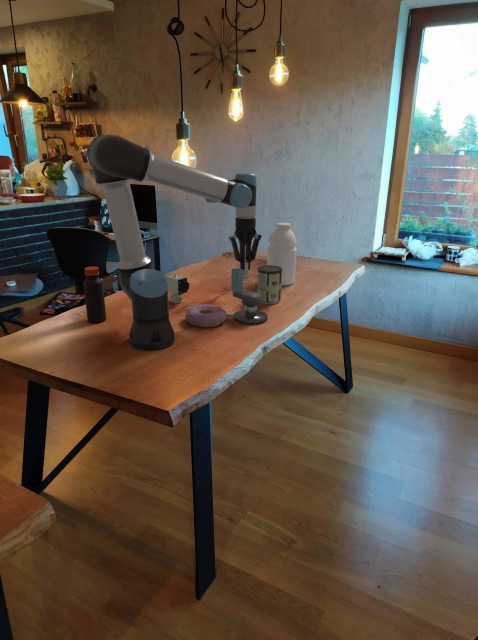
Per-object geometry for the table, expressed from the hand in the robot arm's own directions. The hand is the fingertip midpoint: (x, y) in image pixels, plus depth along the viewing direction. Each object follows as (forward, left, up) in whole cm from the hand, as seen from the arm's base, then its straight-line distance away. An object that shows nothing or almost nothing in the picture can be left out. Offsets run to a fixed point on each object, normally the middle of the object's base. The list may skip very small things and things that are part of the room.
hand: (245, 278), depth 176 cm
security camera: (-2, +30, -14) cm, 33 cm away
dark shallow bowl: (-6, -3, -14) cm, 15 cm away
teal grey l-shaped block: (-5, -2, -7) cm, 9 cm away
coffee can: (+17, -4, -14) cm, 22 cm away
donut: (-16, +9, -14) cm, 23 cm away
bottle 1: (-33, +46, -14) cm, 58 cm away
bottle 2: (+45, 0, -14) cm, 47 cm away
